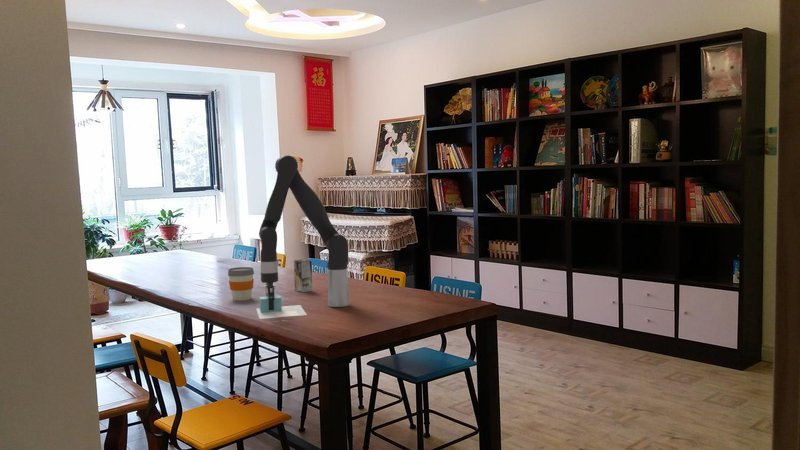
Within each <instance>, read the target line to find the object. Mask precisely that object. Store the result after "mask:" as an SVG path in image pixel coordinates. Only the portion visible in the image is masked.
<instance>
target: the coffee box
mask: <svg viewBox="0 0 800 450" xmlns="http://www.w3.org/2000/svg"><path fill="white" fill-rule="evenodd" d="M312 273H313V270H312V260H309V259H304V258H303V259H296V260H295V259H294V260H293V274H294V275H293V276H294V277H293V278H294V291H297V292H301V293H307V292H313V274H312Z"/></svg>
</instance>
